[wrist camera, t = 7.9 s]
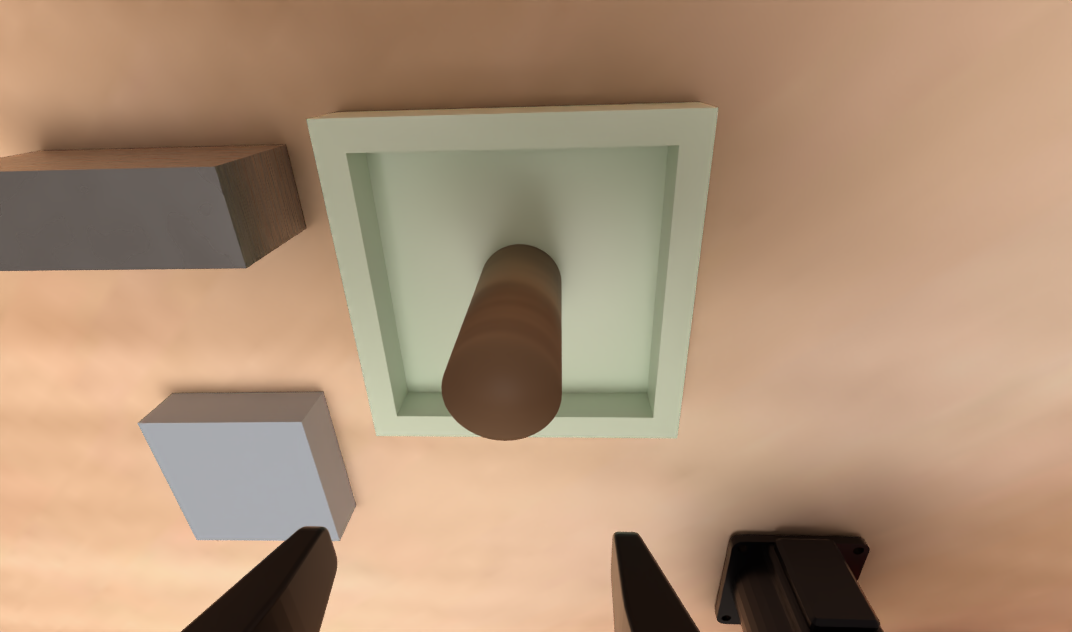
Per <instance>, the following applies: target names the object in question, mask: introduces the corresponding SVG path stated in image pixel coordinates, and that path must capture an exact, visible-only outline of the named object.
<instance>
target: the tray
mask: <svg viewBox="0 0 1072 632" xmlns="http://www.w3.org/2000/svg"><path fill="white" fill-rule="evenodd" d="M717 116H718V107H715V106H712V105H709V104H705V103H702V102H672V103H636V104H601V105H566V106H530V107H495V108H460V109H424V110H389V111H353V112H334V113H330V114H325V115H321V116H317V117H313V118H308V119H306V121H307V125H308V130H309V134H310V139H311V143H312V148H313V152H314V157H315V161H316V166H317V170H318V175H319V179H320V184H321V188H322V193H323V197H324V202H325V206H326V211H327V215H328V220H329V224H330V229H331V233H332V238H333V242H334V247H335V251H336V256H337V260H338V265H339V269H340V274H341V278H342V283H343V287H344V292H345V296H346V301H347V305H348V310H349V314H350V319H351V323H352V328H353V332H354V337H355V341H356V346H357V350H358V355H359V359H360V364H361V368H362V373H363V377H364V382H365V387H366V391H367V396H368V400H369V405H370V409H371V414H372V418H373V423H374V427H375V432H376V436H453V437H481V436H479V435H476V434H474V433H472V432H470V431H468V430H467V429H465V428H464V427H462V426H461V425H460V424H459V423H458V422H457V421H456V420H455V419H454V418H453V417H452V416H451V414H450V413H449V412H448V410H447V408H446V406H445V403H444V401H443V397H442V390H441V385H442V378H443V375H444V372H445V369H446V366H447V364H448V361H449V358H450V356H451V353H452V350H453V348H454V345H455V342H456V340H457V337H458V334H459V332H460V329H461V326H462V324H463V321H464V318H465V316H466V313H467V310H468V307H469V305H470V302H471V299H472V297H473V294H474V291H475V289H476V286H477V283H478V281H479V278H480V275H481V273H482V270H483V267H484V265H485V263H486V262H487V260H488V259H489V258H490V256H491V255H493V254H494V253H495V252H496V251H498V250H499V249H501V248H503V247H506V246H509V245H514V244H526V245H531V246H534V247H537V248H539V249H541V250H543V251H544V252H546V253H547V254H548V255H549V256H550V257H551V258H552V259H553V260H554V261H555V263H556V265H557V266H558V268H559V271H560V275H561V282H562V400H561V404H560V408H559V410H558V412H557V414H556V416H555V417H554V419H553V420H552V421H551V422H550V423H549V424H548V425H547V426H546V427H545V428H544V429H542V430H541V431H539V432H537V433H536V434H534V435H531V436H529V437H577V438H677V436H678V428H679V420H680V412H681V404H682V396H683V388H684V380H685V372H686V364H687V356H688V348H689V340H690V332H691V324H692V316H693V308H694V300H695V292H696V284H697V276H698V268H699V260H700V252H701V244H702V236H703V228H704V220H705V212H706V204H707V196H708V188H709V180H710V172H711V164H712V156H713V148H714V140H715V132H716V124H717Z"/></svg>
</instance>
